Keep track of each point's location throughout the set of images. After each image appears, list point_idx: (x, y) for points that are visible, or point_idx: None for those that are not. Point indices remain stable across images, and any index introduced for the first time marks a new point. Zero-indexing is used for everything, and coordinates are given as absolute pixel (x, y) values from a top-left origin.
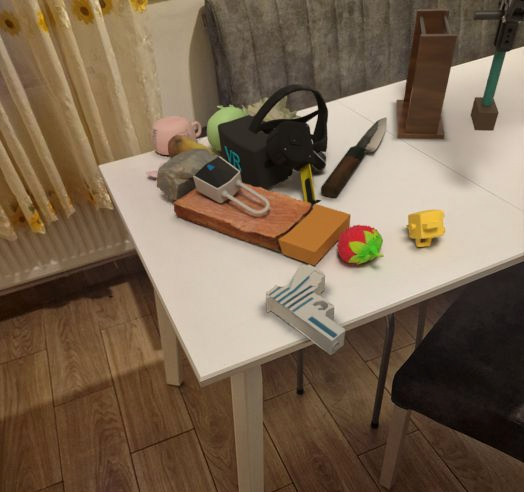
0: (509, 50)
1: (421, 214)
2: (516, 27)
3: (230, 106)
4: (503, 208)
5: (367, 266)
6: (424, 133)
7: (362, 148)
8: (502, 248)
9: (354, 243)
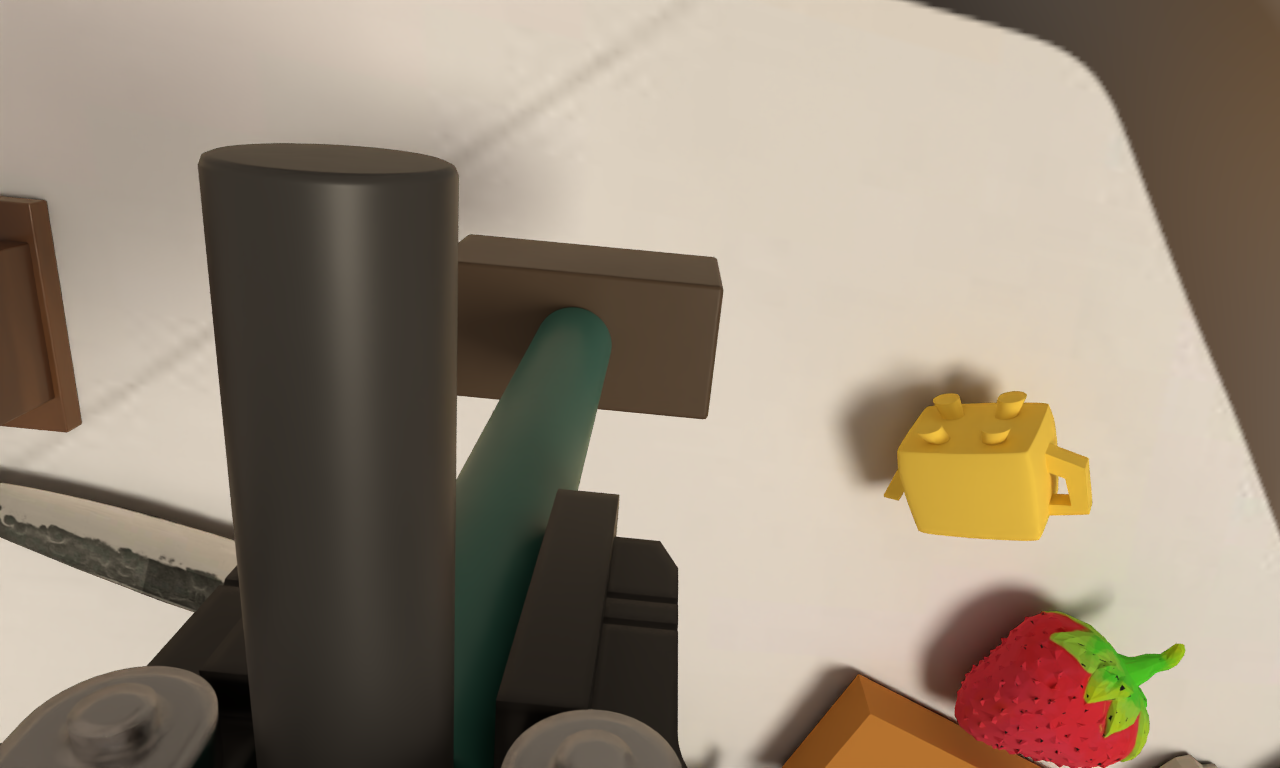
0: (618, 503)
1: (1036, 535)
2: (592, 674)
3: None
4: (735, 37)
5: None
6: (38, 307)
7: None
8: (1055, 124)
9: (1140, 751)
